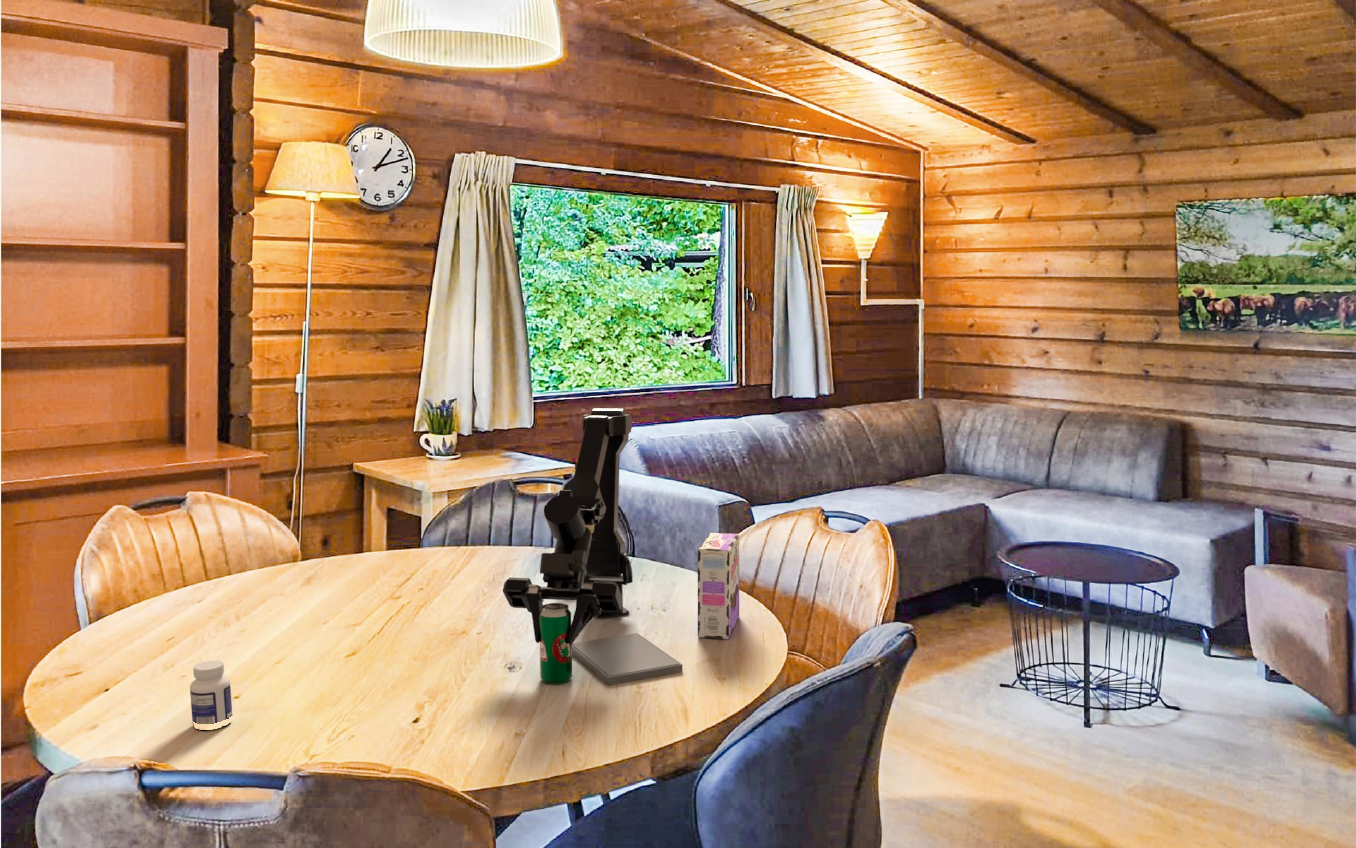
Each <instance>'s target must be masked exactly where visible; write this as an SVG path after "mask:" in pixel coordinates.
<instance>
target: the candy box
mask: <svg viewBox="0 0 1356 848" xmlns="http://www.w3.org/2000/svg"><path fill="white" fill-rule="evenodd" d="M738 619H740V533H726V532H725V533H721V532H710V533H709V534H708V536H707V537H706V539H705V540H704V541H703V542H702V544H701V546H700V547H699V548H698V549H697V637H698V638H703V639H704V638H706V639H720V640H729V639H730V637H731V635H732V633H733V631H734V628H735V627H736V624H737V622H738Z"/></svg>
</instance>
